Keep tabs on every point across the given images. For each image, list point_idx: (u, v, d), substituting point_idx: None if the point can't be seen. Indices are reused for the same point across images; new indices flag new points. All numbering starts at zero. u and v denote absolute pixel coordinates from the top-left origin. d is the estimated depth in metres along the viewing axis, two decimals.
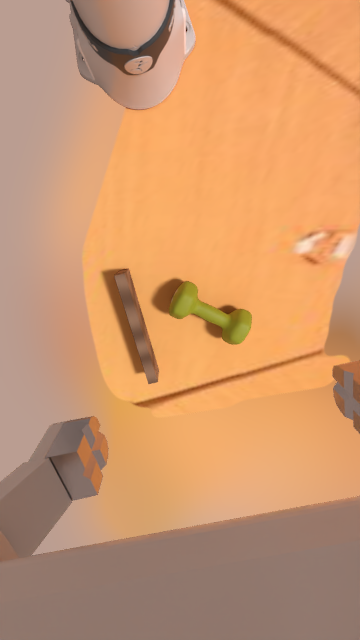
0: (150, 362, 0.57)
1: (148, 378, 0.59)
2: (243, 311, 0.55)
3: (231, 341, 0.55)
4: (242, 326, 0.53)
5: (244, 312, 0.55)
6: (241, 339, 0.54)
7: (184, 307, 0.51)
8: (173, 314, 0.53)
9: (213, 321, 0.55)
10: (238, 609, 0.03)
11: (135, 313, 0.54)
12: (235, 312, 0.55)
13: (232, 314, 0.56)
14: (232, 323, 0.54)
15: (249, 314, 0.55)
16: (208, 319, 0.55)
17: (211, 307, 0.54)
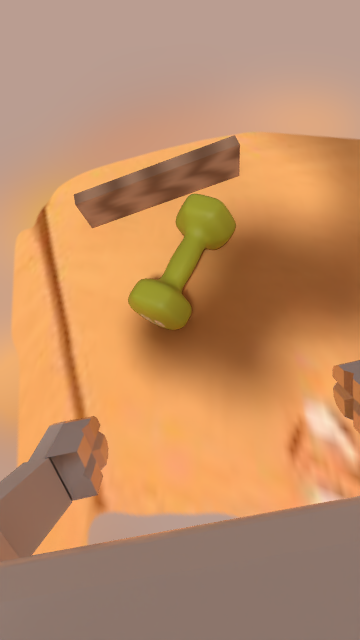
0: (107, 191, 0.39)
1: (82, 193, 0.39)
2: (188, 308, 0.31)
3: (136, 284, 0.31)
4: (164, 292, 0.29)
5: (186, 309, 0.30)
6: (139, 295, 0.29)
7: (199, 204, 0.32)
8: (185, 200, 0.34)
9: (171, 262, 0.33)
10: (238, 609, 0.03)
11: (183, 163, 0.38)
12: None
13: None
14: (168, 284, 0.31)
15: (183, 318, 0.30)
16: (175, 254, 0.33)
17: (195, 259, 0.33)
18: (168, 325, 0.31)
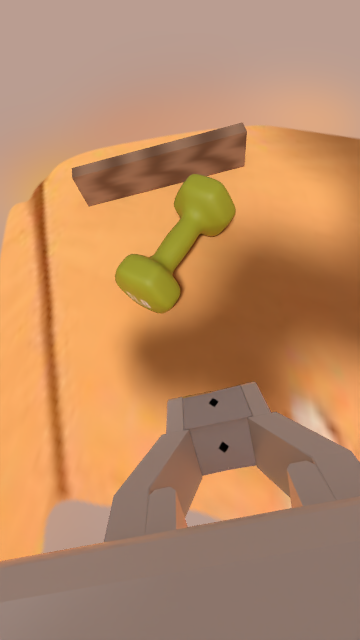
0: (107, 167, 0.37)
1: (81, 167, 0.38)
2: (177, 289, 0.29)
3: None
4: (152, 269, 0.27)
5: (174, 290, 0.29)
6: (126, 269, 0.28)
7: (199, 184, 0.31)
8: None
9: (164, 241, 0.31)
10: (238, 609, 0.03)
11: (187, 146, 0.37)
12: None
13: (172, 276, 0.31)
14: (158, 262, 0.29)
15: (170, 299, 0.29)
16: (169, 234, 0.32)
17: (189, 241, 0.32)
18: (154, 306, 0.30)
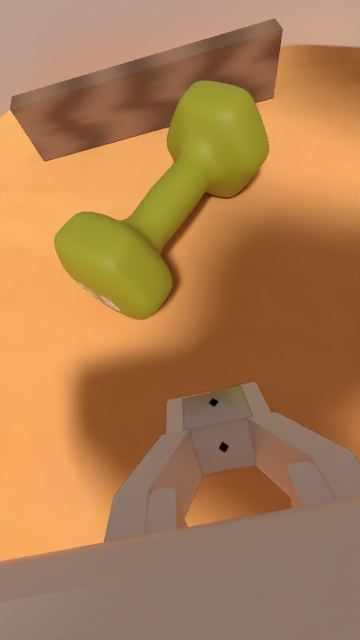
0: (63, 92, 0.24)
1: (25, 94, 0.25)
2: (165, 278, 0.16)
3: None
4: (116, 236, 0.14)
5: (161, 279, 0.16)
6: (67, 238, 0.14)
7: (209, 93, 0.17)
8: None
9: (147, 195, 0.18)
10: (238, 609, 0.03)
11: (187, 55, 0.23)
12: None
13: (159, 255, 0.17)
14: (132, 228, 0.16)
15: (152, 296, 0.15)
16: (156, 184, 0.18)
17: (190, 196, 0.18)
18: (125, 308, 0.16)
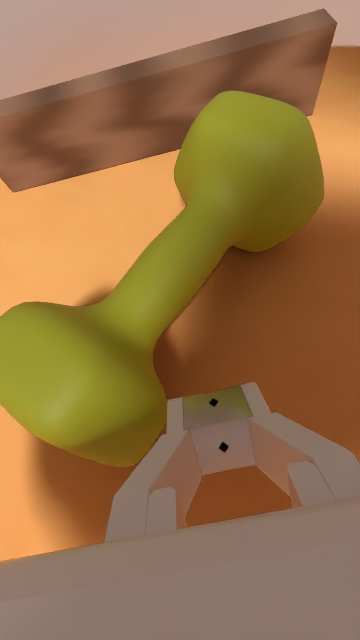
0: (31, 106, 0.17)
1: None
2: (156, 417, 0.10)
3: None
4: (68, 371, 0.08)
5: (148, 422, 0.09)
6: None
7: (243, 112, 0.11)
8: None
9: (138, 263, 0.12)
10: (238, 609, 0.03)
11: (203, 58, 0.17)
12: (156, 378, 0.11)
13: (149, 362, 0.11)
14: (105, 331, 0.10)
15: (131, 452, 0.09)
16: (152, 245, 0.12)
17: (203, 267, 0.12)
18: None
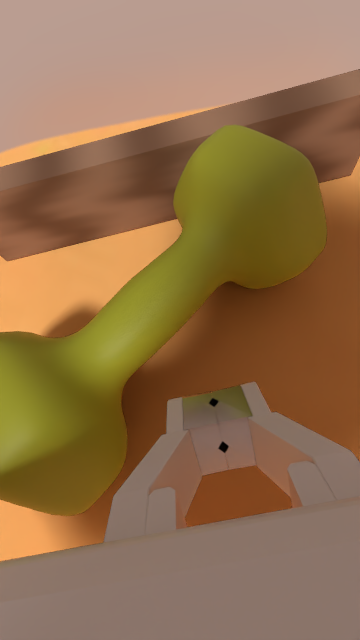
0: (27, 180, 0.15)
1: None
2: (106, 469, 0.09)
3: None
4: (10, 425, 0.08)
5: (96, 476, 0.09)
6: None
7: (242, 152, 0.10)
8: None
9: (116, 299, 0.11)
10: (238, 609, 0.03)
11: None
12: (117, 423, 0.10)
13: (113, 405, 0.11)
14: (65, 375, 0.09)
15: (74, 504, 0.09)
16: (134, 280, 0.12)
17: (184, 309, 0.11)
18: None
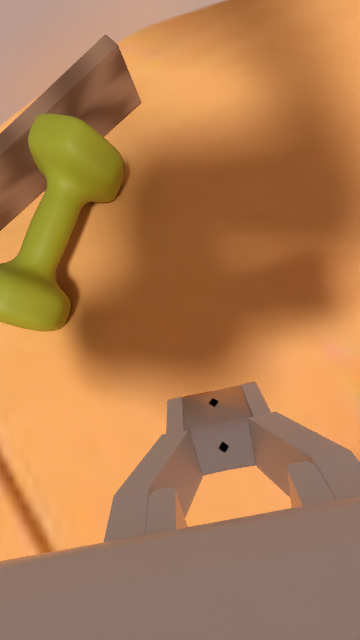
0: None
1: None
2: (53, 301, 0.20)
3: None
4: None
5: (49, 304, 0.20)
6: None
7: (47, 130, 0.20)
8: None
9: (27, 232, 0.22)
10: (238, 609, 0.03)
11: (44, 111, 0.23)
12: (54, 286, 0.21)
13: (49, 280, 0.22)
14: (15, 269, 0.20)
15: (45, 319, 0.20)
16: (32, 219, 0.22)
17: (62, 222, 0.22)
18: None
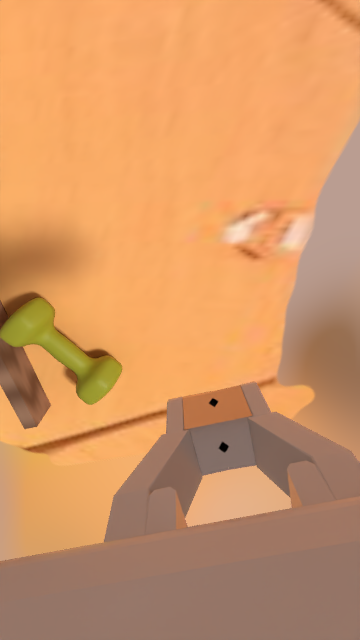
0: (21, 400, 0.40)
1: (23, 421, 0.41)
2: (110, 362, 0.39)
3: None
4: (97, 384, 0.37)
5: (111, 365, 0.39)
6: (92, 400, 0.38)
7: (16, 334, 0.34)
8: None
9: (64, 363, 0.38)
10: (238, 609, 0.03)
11: None
12: (100, 360, 0.40)
13: (96, 361, 0.40)
14: (87, 375, 0.38)
15: (117, 369, 0.39)
16: (58, 359, 0.38)
17: (67, 344, 0.38)
18: None
